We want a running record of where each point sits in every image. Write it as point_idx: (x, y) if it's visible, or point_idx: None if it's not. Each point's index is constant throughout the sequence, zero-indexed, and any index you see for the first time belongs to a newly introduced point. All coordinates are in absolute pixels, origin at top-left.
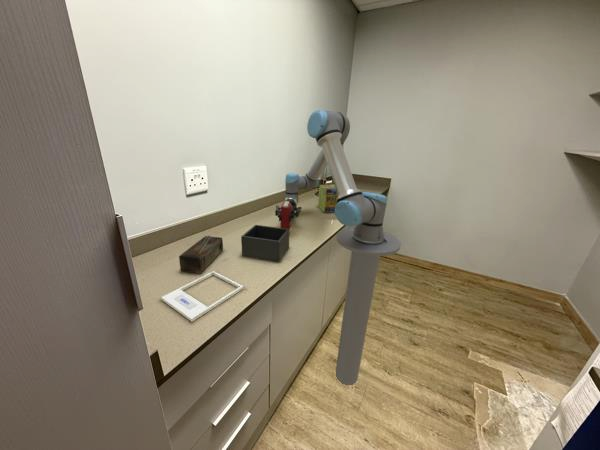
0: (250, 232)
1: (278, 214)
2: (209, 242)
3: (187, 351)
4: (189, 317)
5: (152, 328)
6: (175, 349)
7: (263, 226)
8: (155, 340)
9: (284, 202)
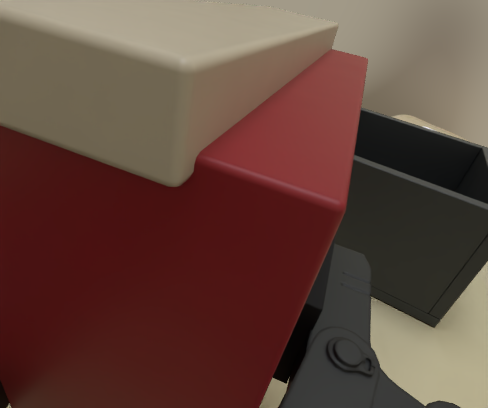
0: (481, 183)
1: (355, 256)
2: None
3: (401, 115)
4: (429, 128)
5: (466, 140)
6: (415, 120)
7: (435, 185)
8: (446, 130)
9: (252, 166)
